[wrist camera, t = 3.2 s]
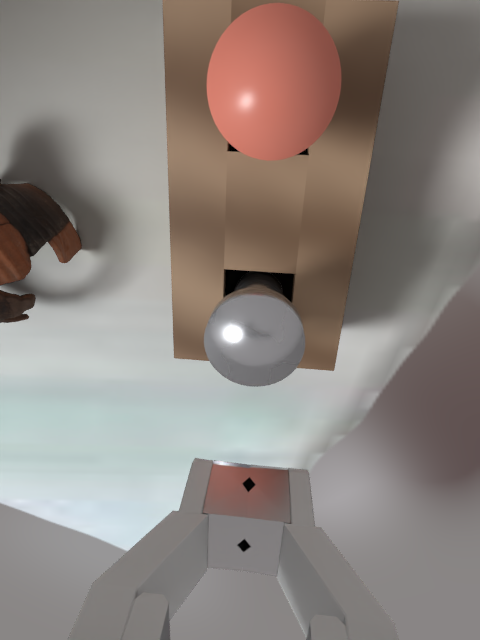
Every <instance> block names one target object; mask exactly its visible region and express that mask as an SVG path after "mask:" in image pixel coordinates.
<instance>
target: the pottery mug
mask: <svg viewBox="0 0 480 640" xmlns="http://www.w3.org/2000/svg"><path fill="white" fill-rule="evenodd" d="M0 182H1V179H0ZM46 242H48V243H49V244H50V245H51V247H52V248H53V250H54V251H55V253H56V255H57V257H58V259H59V261H60V262H61V263H67V262H68V261H70V260H71V259H72V257H73V256H74V255H75V254H76V253H77V252H78V251H79V250H80V249H81V247H82V245H81V243H80V238H79V236H78V234H77V232H76V230H75V229H74V227H73V225H72V223H71V222H70V221H69V219H68V217H67V216H66V215H65V213H64V212H63V211H62V209H61V207H60V206H59V205H58V204H57V203H55V201H54V200H53V199H52V198H51V197H50V196H49V195H47V194H46V193H45V192H44V191H42V190H40V189H38V188H37V187H35V186H33V185H31V184H28V183H24V184H1V183H0V285H3V284H6V283H11V282H14V281H19V280H22V279H24V278H25V277H26V275H28V273H29V272H30V270H31V260H30V257H31V256H34V255H35V254H36V253H37V252H38V251H39V249H40V248H41V247H42V246H44V245H45V243H46ZM35 299H36V298H35V295H34V294H25V295H22V296H19V295H17V294H10V293H7V292H4V291H2V290H0V323H1V322H4V323H9V322H17V321H21V320H25V319H28V318H29V316H28V315H27V314H22V313H23V312H24V311H26V310H29V309H31V308H33V306H34V304H35Z"/></svg>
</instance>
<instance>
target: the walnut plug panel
mask: <svg viewBox="0 0 480 640" xmlns="http://www.w3.org/2000/svg"><path fill="white" fill-rule="evenodd" d="M269 3H285V4H291V5H294V6H298V7H300V8H302V9H304V10H306V11H308V12H309V13H311V14H312V15H313V16H315V17H316V18H317V19H318V20H319V21H320V22H321V23H322V24H323V25H324V27H325V28H326V29H327V31H328V32H329V34H330V36H331V37H332V39H333V41H334V44H335V46H336V48H337V52H338V55H339V59H340V65H341V91H340V96H339V101H338V104H337V108H336V111H335V113H334V115H333V117H332V120H331V121H330V123H329V125H328V127H327V128H326V130H325V131H324V132H323V134H322V135H321V136H320V137H319V138H318V139H317V140H316V141H315V142H314V143H313V144H312V145H311V146H310V147H308V151H307V155H295V156H292V157H289V158H286V159H282V160H273V161H267V160H259V159H256V158H252V157H250V156H247V155H245V154H243V153H241V152H232V151H229V148H230V143H229V142H228V141H227V140H226V139H225V138H224V137H223V135H222V134H221V133H220V131H219V130H218V128H217V126H216V124H215V122H214V120H213V117H212V115H211V112H210V108H209V104H208V98H207V73H208V67H209V63H210V59H211V56H212V53H213V51H214V48H215V46H216V44H217V42H218V40H219V39H220V37H221V35H222V34H223V33H224V31H225V30H226V29H227V27H228V26H229V25H230V24H231V23H232V22H233V21H234V20H235V19H237V18H238V17H239V16H240V15H242V14H243V13H245V12H247V11H248V10H250V9H252V8H255V7H257V6H260V5H264V4H269ZM398 3H399V1H382V0H163V28H164V59H165V90H166V121H167V152H168V183H169V214H170V245H171V276H172V307H173V338H174V358H179V359H192V360H204V361H209V359H208V357H207V354H206V352H205V347H204V333H205V329H206V326H207V324H208V321H209V318H210V316H211V313H212V311H213V309H214V308H215V306H216V305H217V304H218V303H219V302H220V301H221V300H222V299H223V298H224V297H225V279H226V269H230V270H245V271H260V272H275V273H290V274H294V279H293V288H292V297H291V303H292V304H293V305H294V306H295V307H296V309H297V311H298V312H299V314H300V317H301V320H302V324H303V329H304V334H305V350H304V354H303V357H302V359H301V361H300V363H299V365H298V366H297V368H305V369H318V370H330V371H334V368H335V362H336V356H337V351H338V345H339V339H340V334H341V328H342V322H343V317H344V311H345V305H346V299H347V294H348V288H349V282H350V277H351V271H352V265H353V260H354V254H355V248H356V242H357V237H358V231H359V225H360V220H361V214H362V208H363V203H364V197H365V191H366V185H367V180H368V174H369V168H370V163H371V157H372V151H373V146H374V140H375V134H376V128H377V123H378V117H379V111H380V106H381V100H382V94H383V88H384V83H385V77H386V71H387V66H388V60H389V54H390V49H391V43H392V37H393V31H394V26H395V20H396V14H397V9H398Z"/></svg>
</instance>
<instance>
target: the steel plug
mask: <svg viewBox="0 0 480 640" xmlns="http://www.w3.org/2000/svg"><path fill="white" fill-rule="evenodd" d="M204 347H205V352H206V354H207V357H208V359H209V361H210V363H211V364H212V365H213V367H214V368H215V369H216V370H217V371H218V372H219V373H220V374H221V375H222V376H224V377H225V378H227V379H229V380H231V381H233V382H235V383H238V384H241V385H246V386H266V385H270V384H274V383H276V382H279V381H281V380H283V379H284V378H286V377H287V376H288V375H290V374H291V373H292V372H293V371H294V370H295V369H296V368H297V366H298V365H299V363H300V361H301V359H302V357H303V354H304V350H305V334H304V329H303V324H302V320H301V317H300V314H299V312H298V311H297V309H296V307H295V306H294V305H293V304H292V303H291V302H290V301H289V300H288V299H287V298H286V297H284V296H283V289H282V286H281V283H280V281H279V280H278V279H277V278H276V277H275V276H274V275H273V274H271V273H269V272H260V271H250V272H248V273H246V274H244V275H243V276H242V277H241V278H240V279H239V280H238V282H237V284H236V287H235V291H234V292H232V293H230V294H228V295H227V296H225V297H224V298H223V299H222V300H221V301H220V302H219V303H218V304H217V305H216V306H215V308H214V309H213V311H212V313H211V316H210V318H209V321H208V324H207V326H206V329H205V333H204Z"/></svg>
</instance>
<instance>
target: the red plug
mask: <svg viewBox="0 0 480 640" xmlns="http://www.w3.org/2000/svg"><path fill="white" fill-rule="evenodd" d="M340 91H341V65H340V59H339V55H338V52H337V48H336V46H335V44H334V41H333V39H332V37H331V36H330V34H329V32H328V31H327V29H326V28H325V27H324V25H323V24H322V23H321V22H320V21H319V20H318V19H317V18H316V17H315V16H313V15H312V14H311V13H309V12H308V11H306V10H304V9H302V8H300V7H298V6H294V5H291V4H285V3H269V4H264V5H260V6H257V7H255V8H252V9H250V10H248V11H247V12H245V13H243V14H242V15H240V16H239V17H238V18H237V19H235V20H234V21H233V22H232V23H231V24H230V25H229V26H228V27H227V29H226V30H225V31H224V33H223V34H222V35H221V37H220V39H219V40H218V42H217V44H216V46H215V48H214V51H213V53H212V56H211V59H210V63H209V67H208V73H207V98H208V104H209V108H210V112H211V115H212V117H213V120H214V122H215V124H216V126H217V128H218V130H219V131H220V133H221V134H222V135H223V137H224V138H225V139H226V140H227V141H228V142H229V143H230V144H231V145H232V146H233V147H234V148H235V149H237V150H238V151H240V152H241V153H243V154H245V155H247V156H250V157H252V158H256V159H259V160H267V161H273V160H282V159H286V158H289V157H292V156H295V155H297V154H299V153H301V152H302V151H304V150H306V149H307V148H308V147H310V146H311V145H312V144H313V143H314V142H315V141H316V140H317V139H318V138H319V137H320V136H321V135H322V134H323V132H324V131H325V130H326V128H327V127H328V125H329V123H330V121H331V120H332V117H333V115H334V113H335V111H336V108H337V104H338V101H339V96H340Z"/></svg>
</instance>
